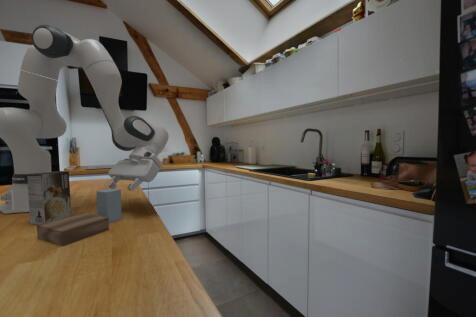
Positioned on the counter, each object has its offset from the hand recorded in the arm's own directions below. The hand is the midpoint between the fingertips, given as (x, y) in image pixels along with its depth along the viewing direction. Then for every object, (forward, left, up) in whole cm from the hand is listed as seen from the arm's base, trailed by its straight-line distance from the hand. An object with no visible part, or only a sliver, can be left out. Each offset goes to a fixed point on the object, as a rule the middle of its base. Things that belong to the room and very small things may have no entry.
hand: (120, 188), depth 79 cm
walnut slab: (+2, -16, -10) cm, 19 cm away
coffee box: (-18, -12, -10) cm, 24 cm away
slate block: (0, -4, -10) cm, 11 cm away
